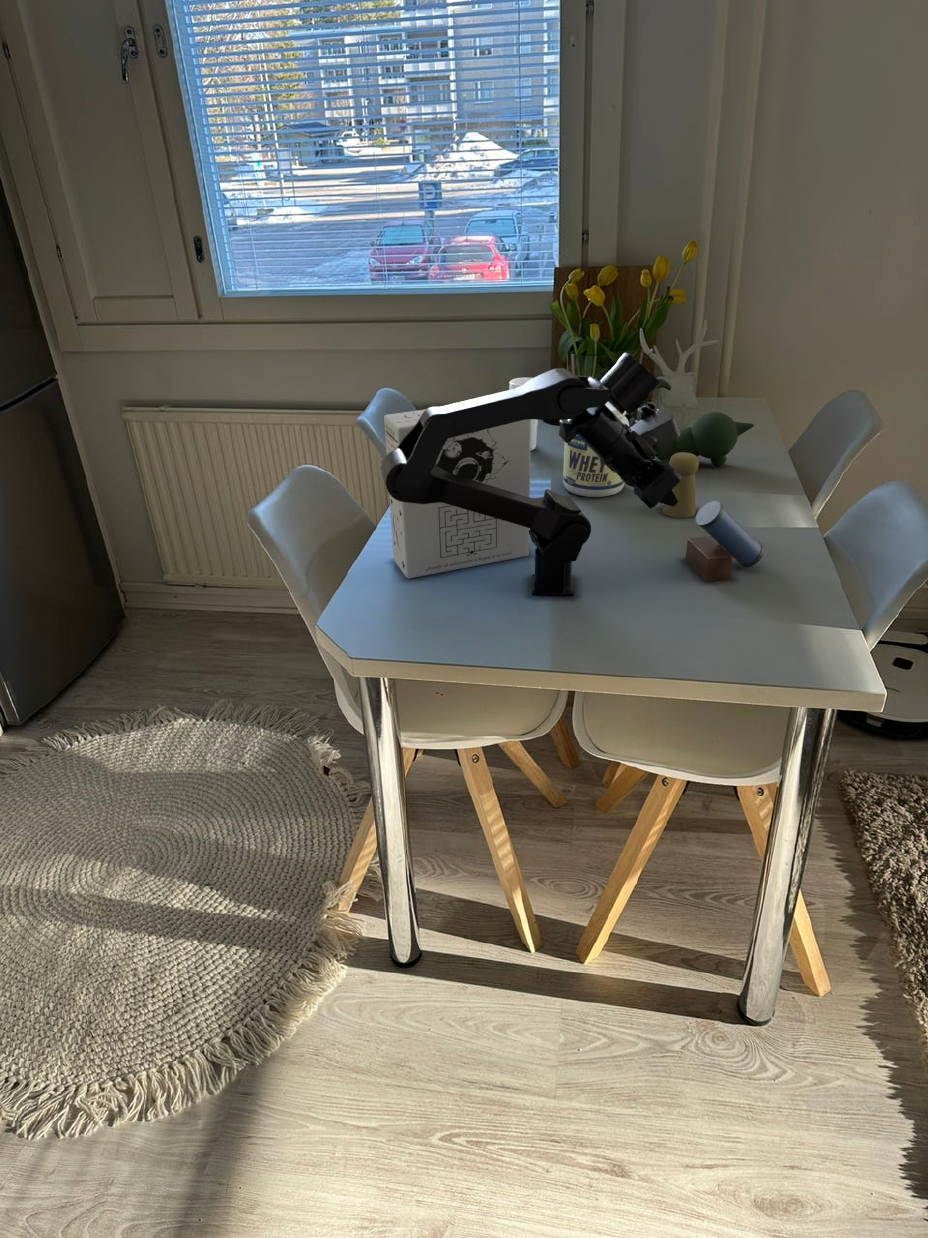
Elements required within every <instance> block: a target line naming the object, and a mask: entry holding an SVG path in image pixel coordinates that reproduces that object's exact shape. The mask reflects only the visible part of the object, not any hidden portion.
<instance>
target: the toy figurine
mask: <svg viewBox="0 0 928 1238" xmlns="http://www.w3.org/2000/svg"><path fill="white" fill-rule="evenodd" d="M656 378H657V379H658V380H659V381H660V383H661V385H660V386H659V387H658V388H657V389H665V390H667V391H672V386H671V384H669V382H668V381H666V380H665V379H663V378H658V377H656ZM657 389H656V390H657ZM646 400H647V399H646ZM646 400H645V401H644V402H643V403H642V405H641V406H640V407H642V406H644V405H647V406H649V404H648V402H646ZM640 407H639V408H640ZM639 408H638V409H639ZM638 409H637V410H636V411H635V412H634V413H633V414H632V413H631V414H630V415H629V416H631V418H630V419H628V422H629V427H631V426H633V425H635V424H636V423H635V421H636V420H637V412H638ZM754 427H755V424H754V423H751V422H739V421H735V420H734V419H733V418H732V417H731V416H730V415H728V414H726V413H724V412H721V411H710V412H706V413H704V414H702V415H701V416H699V417H698V418H697V419H696V420H695V421H694V422H693V424H692V426H685V427H682V428H678V429H679V432H680V436H679V437H678V438H677V439H675V440H670V441H668V442H667V443H665V444H663V445H661V446H659V447H657V448H653V450H654V451H655V452H656V453H657V454H656V455H655V458H657V459H658V460H659V461H666V462H667V463H668V464H669V461H670V459H671V457H672V456H673V455H674V454H676V453H681V452H685V453H691V454H694V455H695V456H697V458H698V457H699V456H700V457H703V458H706V459H710V462H711V465H713V466H715V467H722V466H723V465H724V464H726V462H727V455H728V454H729V453H730V452H731V451H732V450H733V449H734V448H735V446H736V444H737V442H738V438H739V437H740V436H741V435H743V434H744V433H746V432H748V431H749V430H751V429H752V428H754Z"/></svg>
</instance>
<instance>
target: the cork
mask: <svg viewBox="0 0 928 1238" xmlns="http://www.w3.org/2000/svg"><path fill="white" fill-rule="evenodd" d="M669 465H670V466H672V467H673V468H674V469H675V470H676V471H677V472H678V473H679V474H680V475H681V476H682V478H681V481H680V482H679V483H678V484H677V485H676V486H675V487H674V488H673V489H672V491H673V493H674V495H675V496H676V498H677V500H678V503H677V504H676V505H675V506H669V505H666V504H663V506H662V513H663V514H664V515H666V516H668V517H672V518H678V519H686V518H691V517H693V516H696V514H697V513H696V512H697V509H696V477H695V475H696V474H695V473H696V472H698V469H699V465H700V460H699V458H698V457H697V456H695V455H694V454H691V453H685V452H681V453H676V454H674V455H673V456H672V457H671V459H670V461H669Z"/></svg>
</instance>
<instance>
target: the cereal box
mask: <svg viewBox="0 0 928 1238" xmlns="http://www.w3.org/2000/svg"><path fill="white" fill-rule="evenodd" d="M425 410H426V409H418V410H411V411H404V412H397V413H396V412H395V413H389V414H384V416H383V422H384V434H385V435H384V436H385V437H384V438H385V439H384V440H385V452H386V455H387V454H388V453H390V452H392V451H394V450H395V449H396V448H397V447H398V445H399V444H400V442H401V441H402V439H403V438H404V436H405V435H406V434H407V433H408V432H409V431H410V430H411V429H412V428H413V427H414V426H415V424H416V423H417V422H418V420H419V419H420V417H421V416H422V414H423V412H424V411H425ZM530 446H531V419H529V420H522V421H518V422H513V423H509V424H505V425H501V426H497V427H493V428H489V429H485V430H481V431H477V432H473V433H468V434H464V435H460V436H456V437H452V438H449V439H448V440H447V441H446V443H445V444H444V446H443V447H442V450H441V452H440V454H439V456H438V459H437V461H436V463H435V465H437V466H438V467H440V468H441V469H443V470H444V471H446V472H448V473H451V474H455V475H458V476H461V477H464V478H468V479H471V480H474V481H477V482H481V483H484V484H487V485H491V486H494V487H497V488H500V489H504V490H507V491H510V492H513V493H517V494H520V495H523V496H526V497H530V498H531V451H530ZM388 495H389V496H388V497H389V510H390V523H391V524H390V525H391V538H392V539H391V540H392V551H393V552H392V553H393V561H394V563H395V564H396V565H397V567H398V568H399V569H400V571H401V572H402V573H403V574H404V576H405V578H406V579H414V578H420V577H424V576H430V575H436V574H440V573H445V572H451V571H455V570H461V569H466V568H472V567H475V566H476V567H477V566H481V565H487V564H493V563H498V562H503V561H507V560H513V559H514V560H515V559H518V558H523V557H528V556H529V555H530V535H529V532H528V531H529V530H530V529H529V528H527V527H524V526H520V525H517V524H514V523H510V522H507V521H503V520H500V519H497V518H493V517H490V516H486V515H483V514H480V513H476V512H473V511H469V510H466V509H462V508H459V507H456V506H452V505H449V504H445V503H431V504H415V503H406V502H400V501H398V500H395V499H394V498H393V497H391V495H390V494H389V493H388Z"/></svg>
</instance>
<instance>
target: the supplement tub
mask: <svg viewBox="0 0 928 1238" xmlns="http://www.w3.org/2000/svg"><path fill="white" fill-rule="evenodd" d="M605 405H606V406H607V407H608V408H609V409H610V410H611V411H612V412H613V413H614V414H615V416H616V417H617V418H618V419H619V420H620V421H621V422H622V423H626V424H627V425H628V426H629V424H630V422H629V419H628V418H627V417H626V415H627V412H626V411H624V413H623V414H621V413H619V412H618V411H617V410H616V409H615V408H614V407H613V406H612V405H611V404H610V403H609V402H607V403H606V404H605ZM562 478H563V479H562V483H563V486H564V488H565V489H566V490H567V491H568V492H570V493H571V494H574V495H577V496H581V497H587V498H603V497H604V498H605V497H609V496H613V495H616V494H618V493H619V492H621V491H622V489H623V488H624V486H625V485H626V484H625V483H624V482H623V481H622V480H621V477H620V476H619V475H618V474H617V473H616V472H612V471H611V470H610V469H609V468H608V467H607V466H606V465H605V464H604V463H603V462H602V461H601V458H600V457H599V456H598V455H597V454H596V453H595V452H594V451H593V450H592V449H591V448H590V447H589V446H588V445H587V444H586V443H585V442H584V441H583V440H582V439H581V438H579V437H578V436H577V435H576V436H575V437H574V438H573V439H572V440H571V441H570V442H569V443H566V442H565V441H564V449H563V474H562Z"/></svg>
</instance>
